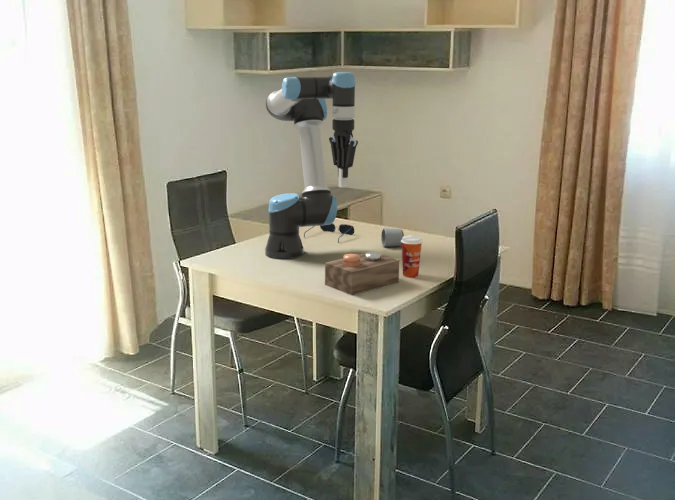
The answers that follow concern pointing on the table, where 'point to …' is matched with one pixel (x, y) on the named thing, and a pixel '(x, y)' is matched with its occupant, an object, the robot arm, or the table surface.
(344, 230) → the sunglasses
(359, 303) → the table surface
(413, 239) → the paper cup
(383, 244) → the ceramic mug
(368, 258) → the grey button
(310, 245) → the table surface
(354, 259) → the terracotta button
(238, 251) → the table surface
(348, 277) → the button console
